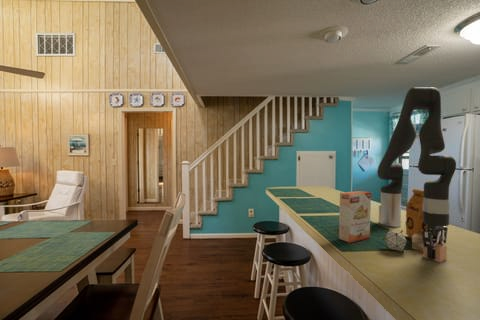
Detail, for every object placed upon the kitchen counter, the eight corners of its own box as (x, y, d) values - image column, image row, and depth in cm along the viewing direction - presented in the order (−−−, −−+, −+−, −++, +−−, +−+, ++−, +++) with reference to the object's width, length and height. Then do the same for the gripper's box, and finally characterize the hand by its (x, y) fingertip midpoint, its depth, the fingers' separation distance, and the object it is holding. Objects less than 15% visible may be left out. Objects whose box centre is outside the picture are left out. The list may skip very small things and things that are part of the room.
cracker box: (350, 243, 101) (350, 194, 100) (338, 239, 106) (338, 192, 105) (371, 238, 107) (371, 192, 106) (359, 234, 112) (359, 190, 112)
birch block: (411, 248, 95) (412, 236, 95) (414, 245, 99) (414, 233, 99) (427, 252, 92) (427, 239, 92) (429, 248, 95) (429, 236, 95)
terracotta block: (423, 257, 87) (423, 243, 87) (429, 254, 90) (430, 241, 90) (440, 262, 83) (440, 248, 83) (446, 259, 85) (446, 245, 85)
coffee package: (414, 244, 99) (415, 192, 99) (402, 235, 111) (403, 188, 111) (443, 247, 97) (444, 193, 96) (427, 237, 108) (428, 189, 108)
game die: (389, 258, 95) (373, 234, 99) (407, 250, 95) (391, 226, 100) (399, 256, 87) (382, 230, 92) (420, 247, 87) (401, 221, 92)
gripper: (432, 206, 93) (431, 249, 93) (413, 210, 86) (413, 257, 86) (457, 210, 86) (456, 256, 87) (439, 215, 79) (438, 266, 80)
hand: (434, 256), depth 86 cm, fingers closed on terracotta block, 5 cm apart
